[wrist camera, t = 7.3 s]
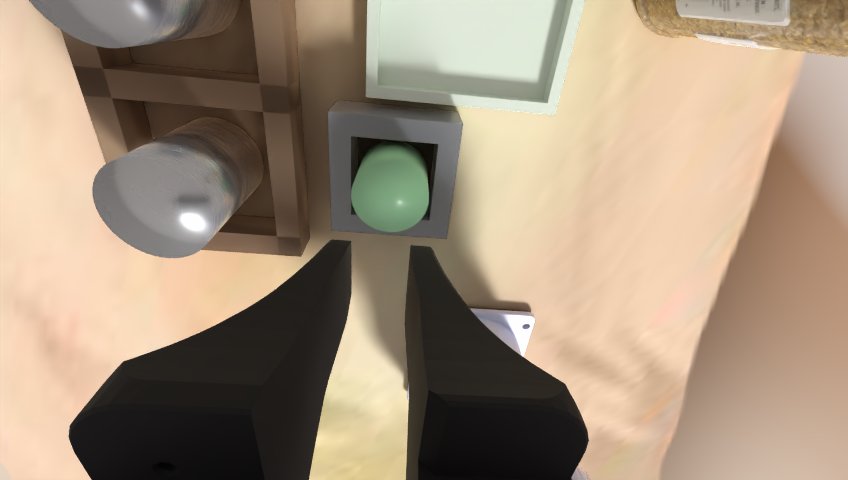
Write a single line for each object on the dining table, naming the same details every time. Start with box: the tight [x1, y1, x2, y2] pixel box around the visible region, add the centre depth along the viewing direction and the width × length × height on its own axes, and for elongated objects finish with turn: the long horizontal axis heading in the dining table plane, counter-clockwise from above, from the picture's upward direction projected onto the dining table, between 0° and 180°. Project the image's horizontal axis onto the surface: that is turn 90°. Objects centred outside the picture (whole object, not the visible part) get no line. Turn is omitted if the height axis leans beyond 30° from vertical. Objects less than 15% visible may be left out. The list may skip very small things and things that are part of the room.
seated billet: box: [93, 117, 264, 258], centre depth 18 cm, size 4×4×6 cm
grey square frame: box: [328, 100, 463, 239], centre depth 20 cm, size 6×6×2 cm
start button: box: [351, 140, 429, 232], centre depth 18 cm, size 3×3×3 cm
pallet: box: [61, 0, 310, 257], centre depth 18 cm, size 17×9×2 cm, turn 174°
